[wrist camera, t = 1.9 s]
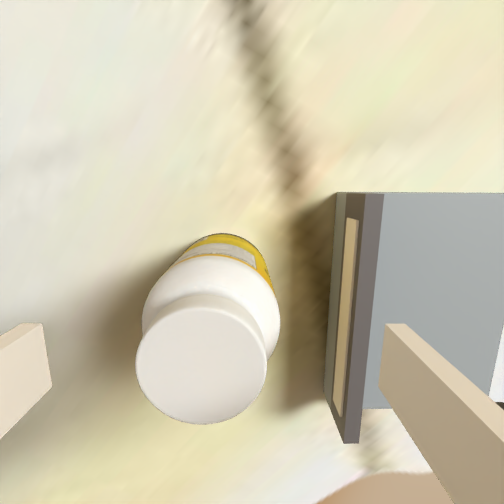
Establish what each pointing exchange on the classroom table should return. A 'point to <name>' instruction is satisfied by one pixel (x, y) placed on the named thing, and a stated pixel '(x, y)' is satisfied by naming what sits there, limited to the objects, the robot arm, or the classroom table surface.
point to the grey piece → (411, 289)
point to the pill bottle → (208, 332)
